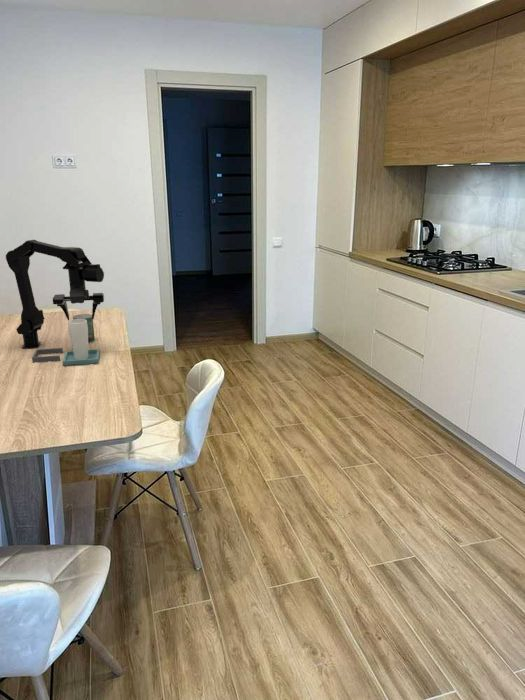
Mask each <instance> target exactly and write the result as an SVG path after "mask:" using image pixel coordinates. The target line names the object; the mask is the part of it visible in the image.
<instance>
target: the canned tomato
mask: <svg viewBox="0 0 525 700" xmlns="http://www.w3.org/2000/svg"><path fill="white" fill-rule="evenodd" d="M74 319H85V320H87V325H88V344H91V343H93V341H94V342H95V341H96V338H95V330H94V319H92V314H87V313H80V314H75V315H73V316H72V320H74ZM90 342H91V343H90Z"/></svg>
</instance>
